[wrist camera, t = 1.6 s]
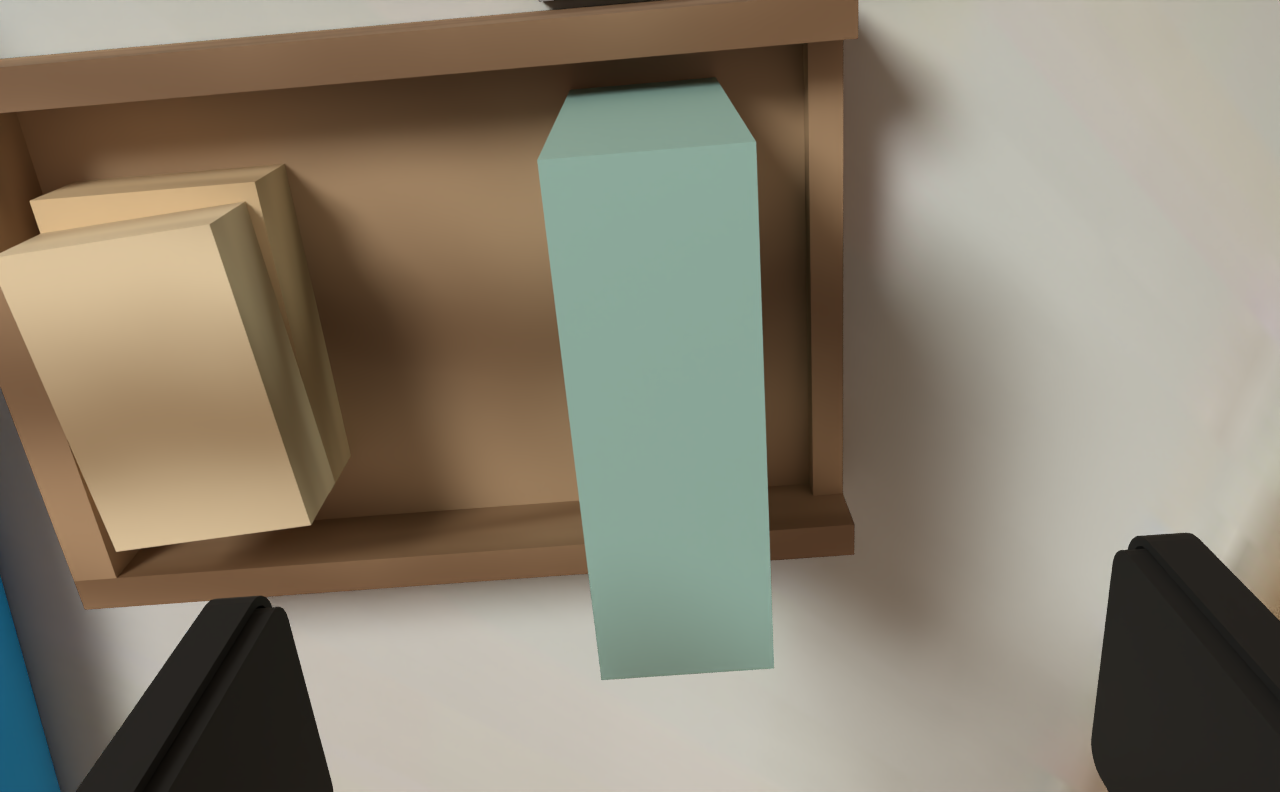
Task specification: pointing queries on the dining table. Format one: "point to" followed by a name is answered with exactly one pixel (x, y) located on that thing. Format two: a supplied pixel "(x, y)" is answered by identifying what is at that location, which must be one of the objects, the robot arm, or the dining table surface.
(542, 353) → the tray
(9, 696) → the book
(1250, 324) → the dining table surface
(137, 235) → the offcut top
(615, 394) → the block
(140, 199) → the offcut low
